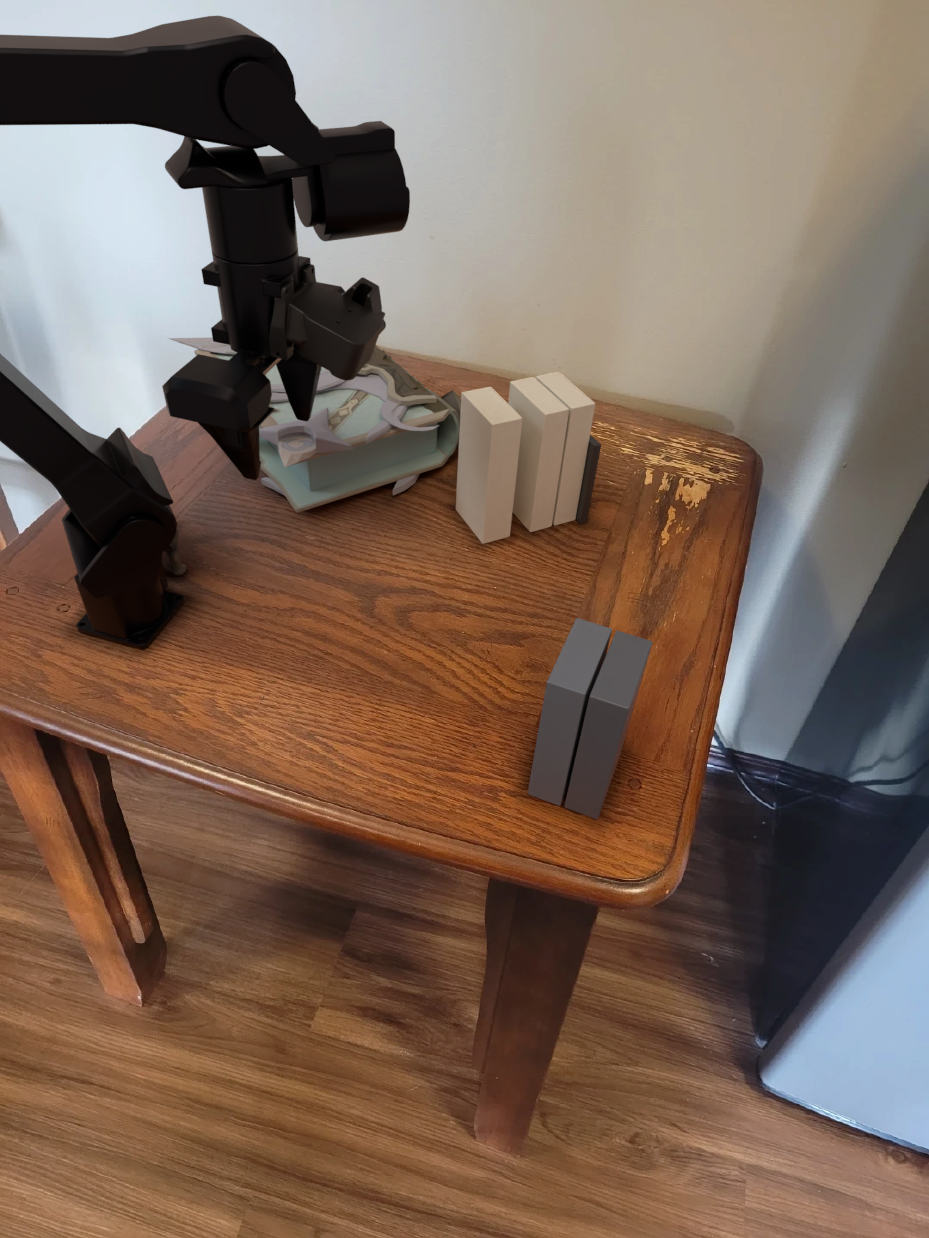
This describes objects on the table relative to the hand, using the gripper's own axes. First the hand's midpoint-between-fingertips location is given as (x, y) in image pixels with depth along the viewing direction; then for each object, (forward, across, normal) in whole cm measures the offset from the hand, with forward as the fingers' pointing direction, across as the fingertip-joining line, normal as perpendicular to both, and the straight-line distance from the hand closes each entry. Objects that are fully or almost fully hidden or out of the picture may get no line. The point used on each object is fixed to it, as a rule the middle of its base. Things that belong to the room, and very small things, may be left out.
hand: (278, 447), depth 68 cm
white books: (+13, +18, -19) cm, 29 cm away
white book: (+13, +13, -14) cm, 23 cm away
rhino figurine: (+13, -1, +15) cm, 20 cm away
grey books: (+13, -14, -29) cm, 35 cm away
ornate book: (+13, +22, +7) cm, 27 cm away
